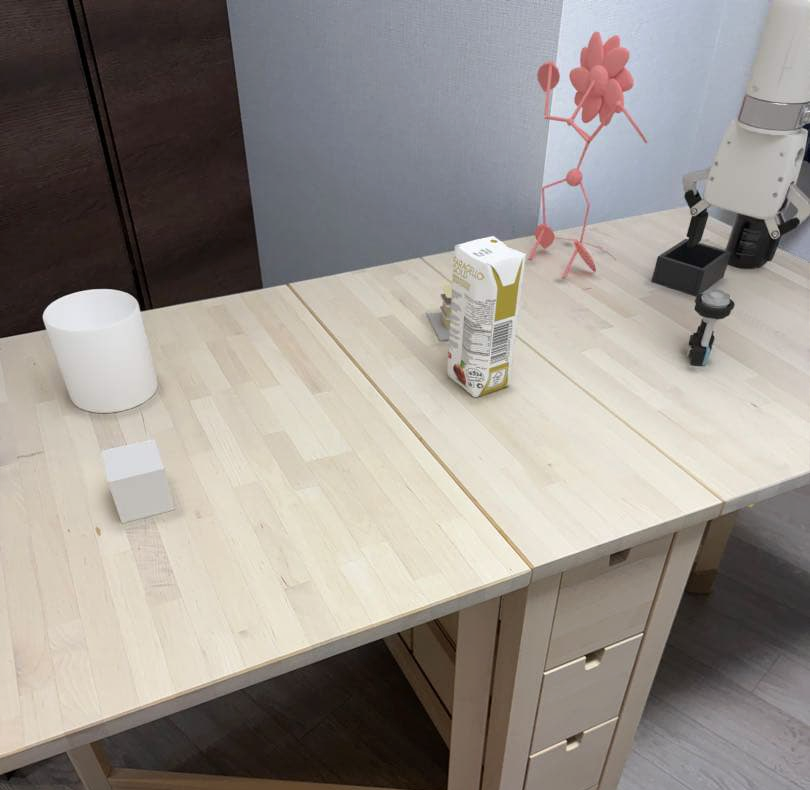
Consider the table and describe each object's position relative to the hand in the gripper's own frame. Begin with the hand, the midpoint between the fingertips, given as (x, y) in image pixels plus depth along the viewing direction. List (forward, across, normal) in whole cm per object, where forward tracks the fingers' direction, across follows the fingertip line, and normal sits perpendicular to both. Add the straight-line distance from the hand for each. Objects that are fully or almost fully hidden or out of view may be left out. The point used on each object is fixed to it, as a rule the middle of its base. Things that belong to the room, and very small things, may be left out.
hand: (726, 254), depth 101 cm
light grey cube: (+17, +33, +74) cm, 83 cm away
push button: (+16, 0, 0) cm, 16 cm away
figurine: (+16, +32, -17) cm, 40 cm away
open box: (+15, +13, -24) cm, 32 cm away
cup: (+17, +56, +64) cm, 86 cm away
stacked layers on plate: (+16, +32, +16) cm, 39 cm away
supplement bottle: (+15, +9, -38) cm, 42 cm away
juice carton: (+16, +20, +28) cm, 38 cm away
